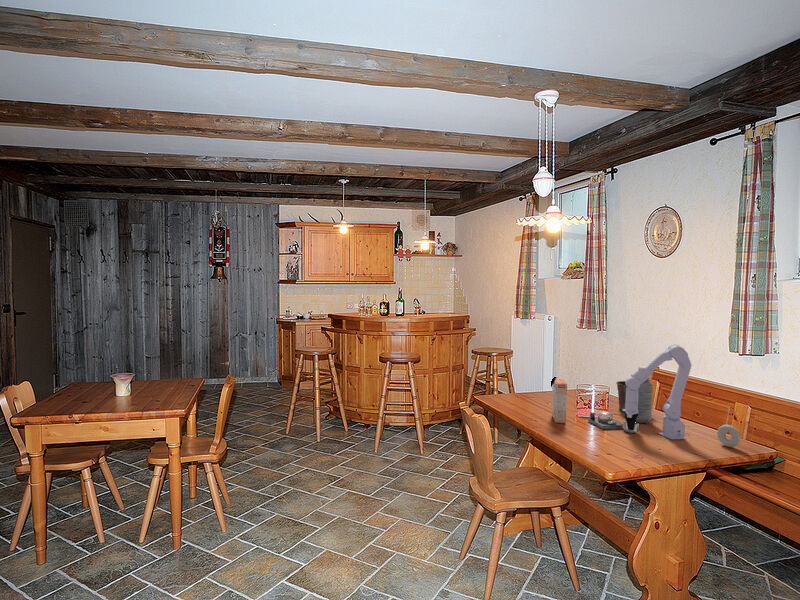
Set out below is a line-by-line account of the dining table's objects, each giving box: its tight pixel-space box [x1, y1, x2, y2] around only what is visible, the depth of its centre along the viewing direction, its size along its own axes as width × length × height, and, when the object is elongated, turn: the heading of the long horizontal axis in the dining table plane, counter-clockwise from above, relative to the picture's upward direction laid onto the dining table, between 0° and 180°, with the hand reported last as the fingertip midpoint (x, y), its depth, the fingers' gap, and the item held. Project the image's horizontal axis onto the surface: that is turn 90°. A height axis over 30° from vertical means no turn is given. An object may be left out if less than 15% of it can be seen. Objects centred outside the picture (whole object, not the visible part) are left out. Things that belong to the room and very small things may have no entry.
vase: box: [636, 378, 654, 424], centre depth 267 cm, size 12×12×23 cm
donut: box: [716, 424, 741, 448], centre depth 228 cm, size 10×4×10 cm, turn 23°
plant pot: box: [615, 380, 627, 414], centre depth 288 cm, size 16×16×16 cm
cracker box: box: [551, 378, 568, 424], centre depth 268 cm, size 14×6×21 cm, turn 168°
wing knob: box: [622, 420, 640, 434], centre depth 249 cm, size 7×5×5 cm
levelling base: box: [587, 411, 624, 430], centre depth 260 cm, size 14×12×6 cm
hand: (631, 428), depth 248 cm, fingers closed on wing knob, 3 cm apart
